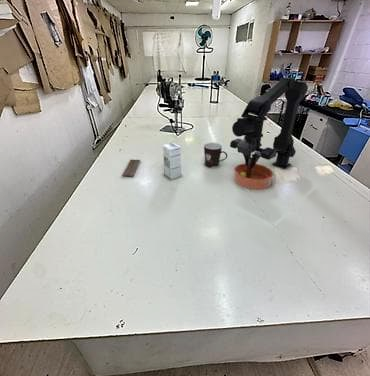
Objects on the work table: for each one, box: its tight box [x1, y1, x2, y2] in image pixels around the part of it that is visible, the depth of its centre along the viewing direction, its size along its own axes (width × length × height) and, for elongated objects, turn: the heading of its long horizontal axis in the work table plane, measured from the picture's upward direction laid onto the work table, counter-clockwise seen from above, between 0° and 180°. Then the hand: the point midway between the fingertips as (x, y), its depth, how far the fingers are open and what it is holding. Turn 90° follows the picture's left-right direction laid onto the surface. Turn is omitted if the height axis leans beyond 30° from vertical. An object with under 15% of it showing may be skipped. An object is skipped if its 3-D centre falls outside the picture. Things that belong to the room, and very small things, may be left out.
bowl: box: [233, 162, 274, 191], centre depth 100 cm, size 16×16×5 cm
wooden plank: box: [122, 158, 141, 177], centre depth 111 cm, size 17×1×5 cm
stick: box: [246, 156, 252, 178], centre depth 101 cm, size 2×2×9 cm
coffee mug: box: [203, 142, 228, 169], centre depth 113 cm, size 12×9×10 cm
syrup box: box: [162, 142, 182, 180], centre depth 103 cm, size 6×6×14 cm
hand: (249, 166), depth 101 cm, fingers closed on stick, 2 cm apart
